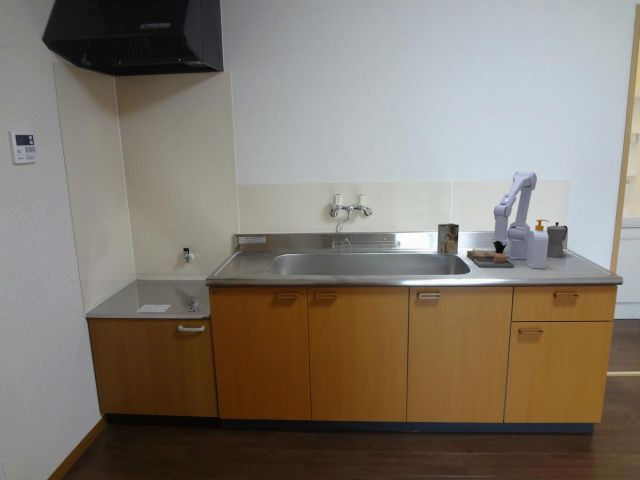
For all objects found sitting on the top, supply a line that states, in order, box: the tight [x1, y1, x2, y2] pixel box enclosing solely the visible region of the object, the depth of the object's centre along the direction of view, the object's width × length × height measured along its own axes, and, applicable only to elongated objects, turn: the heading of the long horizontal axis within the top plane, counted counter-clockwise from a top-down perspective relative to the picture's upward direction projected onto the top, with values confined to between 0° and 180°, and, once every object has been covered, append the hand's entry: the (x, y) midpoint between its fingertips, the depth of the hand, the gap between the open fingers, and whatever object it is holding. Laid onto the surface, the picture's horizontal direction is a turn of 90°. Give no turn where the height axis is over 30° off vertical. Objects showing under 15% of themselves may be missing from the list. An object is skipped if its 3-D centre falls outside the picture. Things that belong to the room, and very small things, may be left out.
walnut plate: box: [466, 250, 496, 263], centre depth 237 cm, size 16×12×3 cm
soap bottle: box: [526, 219, 550, 270], centre depth 221 cm, size 9×7×23 cm
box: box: [473, 258, 514, 269], centre depth 226 cm, size 16×10×2 cm, turn 87°
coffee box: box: [436, 223, 460, 256], centre depth 249 cm, size 9×6×16 cm
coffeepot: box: [546, 221, 569, 259], centre depth 243 cm, size 15×9×18 cm, turn 118°
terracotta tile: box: [493, 252, 508, 263], centre depth 226 cm, size 5×5×2 cm
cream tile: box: [471, 247, 486, 254], centre depth 238 cm, size 5×5×2 cm
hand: (499, 256), depth 228 cm, fingers closed
